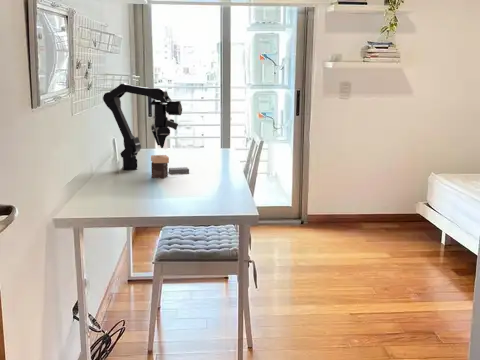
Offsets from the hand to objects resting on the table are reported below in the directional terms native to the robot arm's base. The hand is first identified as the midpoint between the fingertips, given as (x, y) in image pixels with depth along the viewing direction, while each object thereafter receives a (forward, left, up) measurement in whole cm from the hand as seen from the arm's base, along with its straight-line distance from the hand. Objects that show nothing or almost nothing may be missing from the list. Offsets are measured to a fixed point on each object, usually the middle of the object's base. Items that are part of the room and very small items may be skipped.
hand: (160, 146), depth 263 cm
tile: (-3, -15, -5) cm, 16 cm away
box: (-3, -15, -12) cm, 20 cm away
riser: (+8, -6, -12) cm, 16 cm away
